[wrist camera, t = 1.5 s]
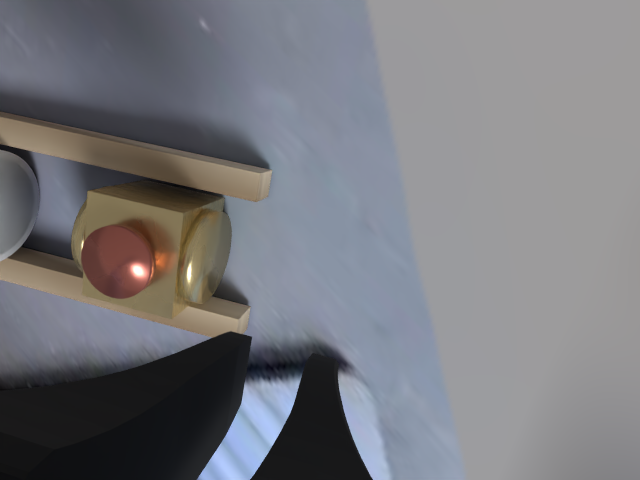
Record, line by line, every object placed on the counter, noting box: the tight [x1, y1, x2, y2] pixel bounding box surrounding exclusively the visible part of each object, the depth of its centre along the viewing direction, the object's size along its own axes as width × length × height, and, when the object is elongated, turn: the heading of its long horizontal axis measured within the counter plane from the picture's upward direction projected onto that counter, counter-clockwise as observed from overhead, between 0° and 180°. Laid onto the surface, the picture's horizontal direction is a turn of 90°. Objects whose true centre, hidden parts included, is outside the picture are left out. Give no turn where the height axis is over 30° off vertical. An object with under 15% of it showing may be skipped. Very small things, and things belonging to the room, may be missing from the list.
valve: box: [71, 180, 232, 319], centre depth 20 cm, size 5×4×5 cm
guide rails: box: [0, 112, 272, 337], centre depth 22 cm, size 8×17×2 cm, turn 80°
